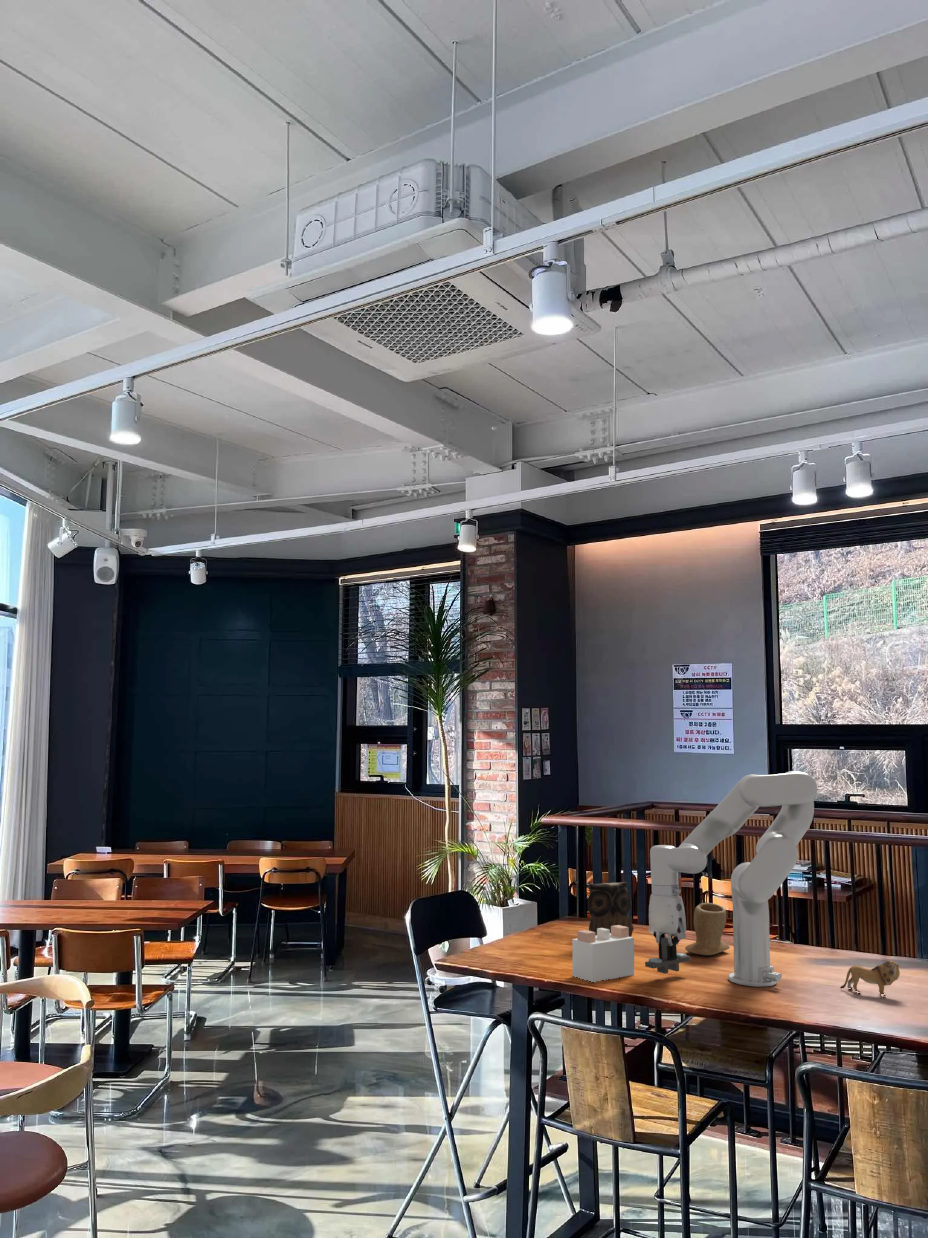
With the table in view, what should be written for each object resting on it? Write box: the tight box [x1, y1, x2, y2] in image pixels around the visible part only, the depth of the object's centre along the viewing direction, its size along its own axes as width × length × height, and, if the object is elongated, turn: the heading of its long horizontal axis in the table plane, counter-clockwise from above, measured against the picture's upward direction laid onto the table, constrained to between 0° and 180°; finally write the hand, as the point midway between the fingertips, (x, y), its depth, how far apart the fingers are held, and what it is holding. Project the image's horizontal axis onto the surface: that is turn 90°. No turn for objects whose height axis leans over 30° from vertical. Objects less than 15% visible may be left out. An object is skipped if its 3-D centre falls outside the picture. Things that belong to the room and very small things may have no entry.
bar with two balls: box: [644, 936, 691, 975], centre depth 260 cm, size 4×15×9 cm, turn 126°
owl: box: [587, 881, 635, 937], centre depth 299 cm, size 13×13×20 cm
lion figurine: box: [839, 960, 901, 995], centre depth 246 cm, size 15×5×9 cm, turn 64°
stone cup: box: [684, 902, 731, 956], centre depth 291 cm, size 15×12×15 cm
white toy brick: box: [571, 925, 635, 983], centre depth 261 cm, size 8×16×12 cm, turn 126°
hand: (667, 958), depth 259 cm, fingers closed on bar with two balls, 2 cm apart
